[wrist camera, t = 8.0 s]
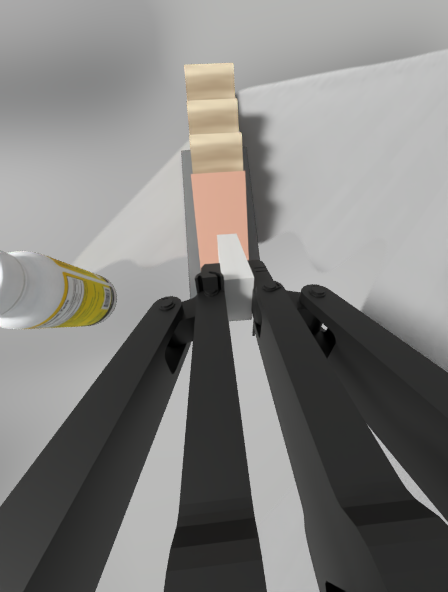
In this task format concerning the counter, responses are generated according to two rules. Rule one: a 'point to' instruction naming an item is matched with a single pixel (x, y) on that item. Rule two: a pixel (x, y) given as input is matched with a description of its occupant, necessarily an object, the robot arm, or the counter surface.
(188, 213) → the mat
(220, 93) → the domino
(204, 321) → the robot arm
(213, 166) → the domino
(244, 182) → the domino
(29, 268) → the pill bottle
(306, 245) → the counter surface
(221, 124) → the domino
